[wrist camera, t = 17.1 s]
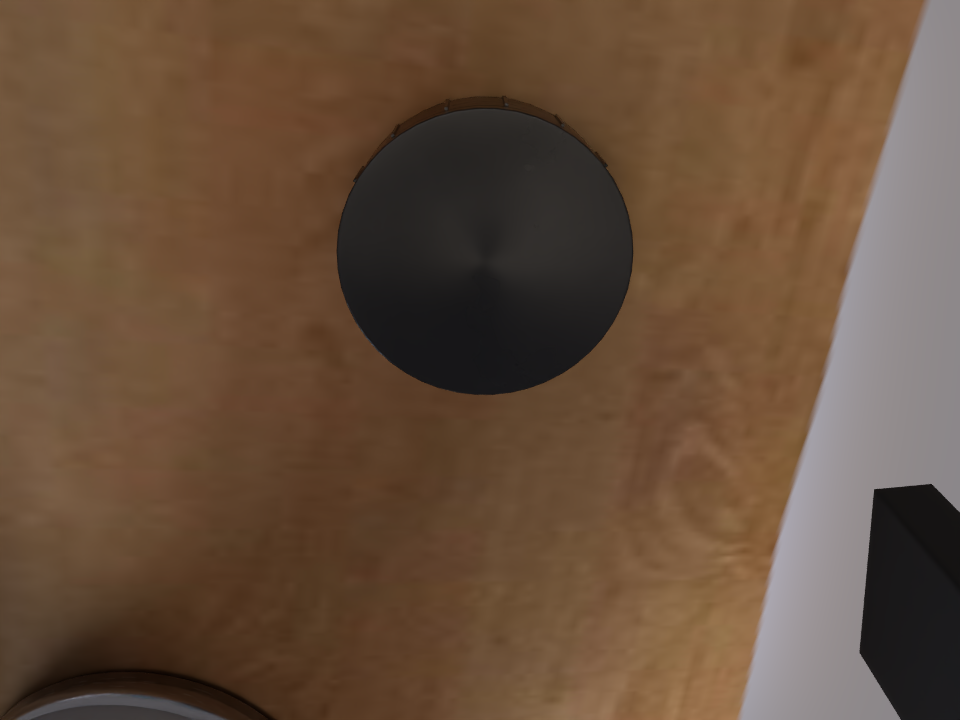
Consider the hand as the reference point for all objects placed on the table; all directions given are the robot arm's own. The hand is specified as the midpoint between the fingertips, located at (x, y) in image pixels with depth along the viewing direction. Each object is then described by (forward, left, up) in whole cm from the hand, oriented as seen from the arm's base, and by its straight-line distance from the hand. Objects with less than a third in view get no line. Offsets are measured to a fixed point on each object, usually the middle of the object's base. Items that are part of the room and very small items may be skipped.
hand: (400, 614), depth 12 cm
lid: (+1, -1, -17) cm, 17 cm away
